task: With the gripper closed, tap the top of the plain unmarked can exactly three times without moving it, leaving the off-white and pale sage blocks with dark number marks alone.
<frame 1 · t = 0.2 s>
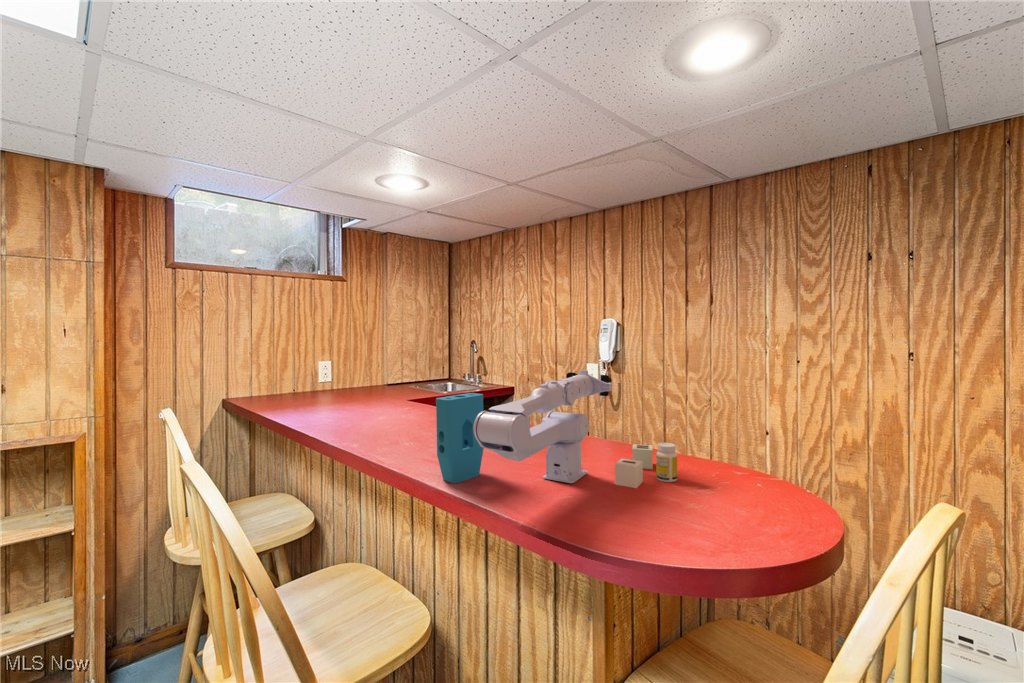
hand: (597, 380, 129), 21 cm above the table, tool horizontal, fingers open, 7 cm apart
numbered block two: (642, 466, 121), on the table
block: (461, 478, 113), on the table
supplement bottle: (666, 480, 110), on the table
numbered block one: (629, 483, 108), on the table
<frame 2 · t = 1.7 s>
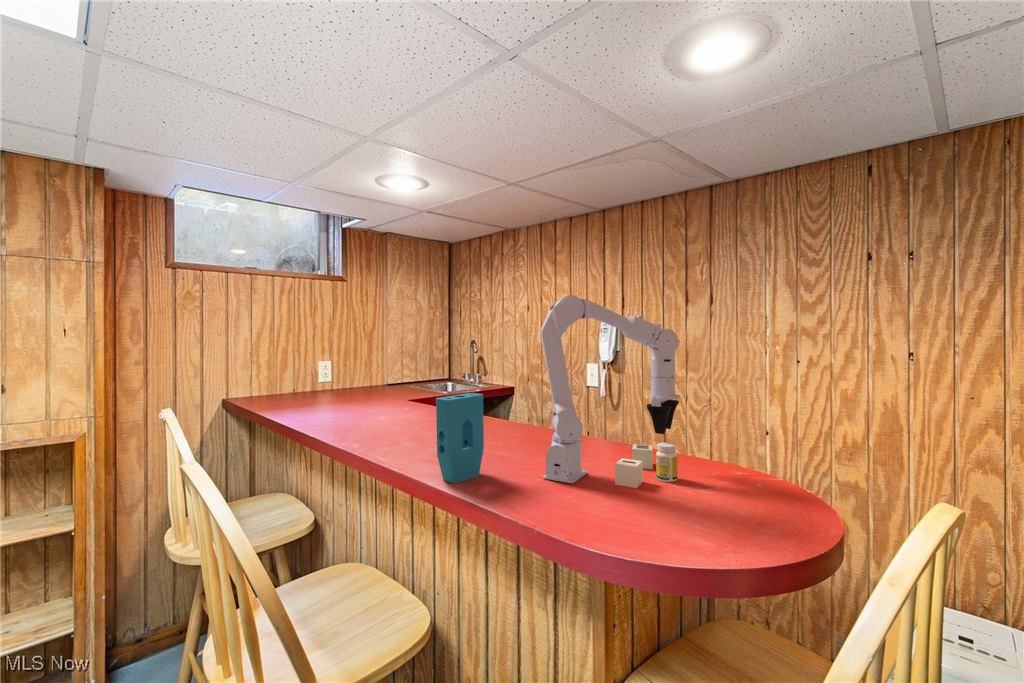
hand: (663, 431, 115), 10 cm above the table, tool pointing down, fingers open, 6 cm apart
nothing on the table moved.
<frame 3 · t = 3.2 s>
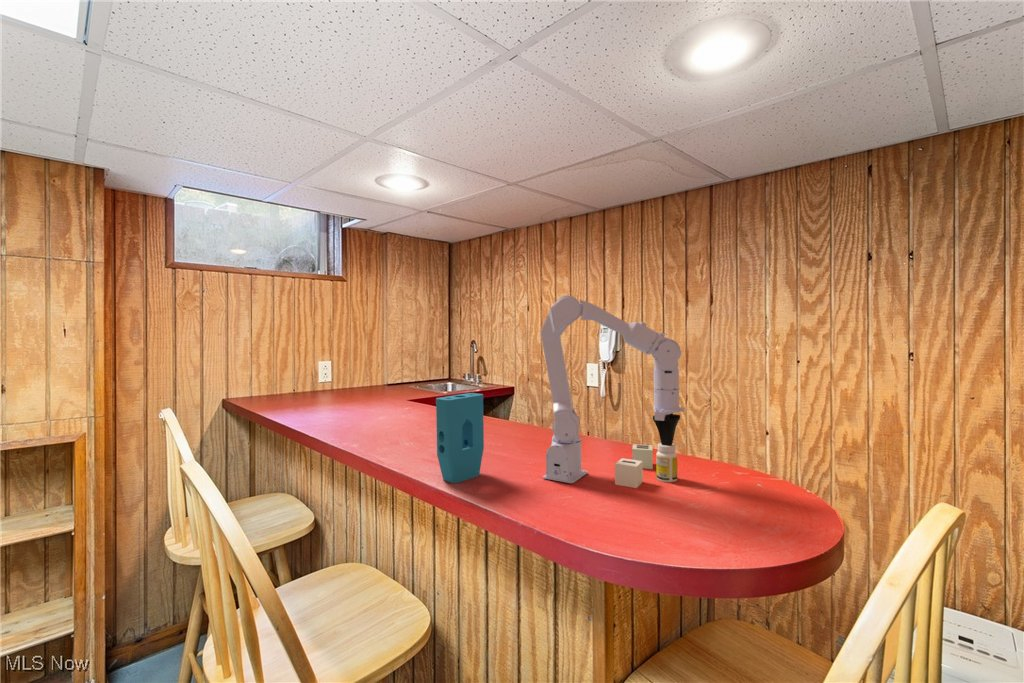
hand: (666, 445, 110), 8 cm above the table, tool pointing down, fingers closed, pressing on supplement bottle
supplement bottle: (666, 480, 110), on the table, touching gripper
everything else where it was.
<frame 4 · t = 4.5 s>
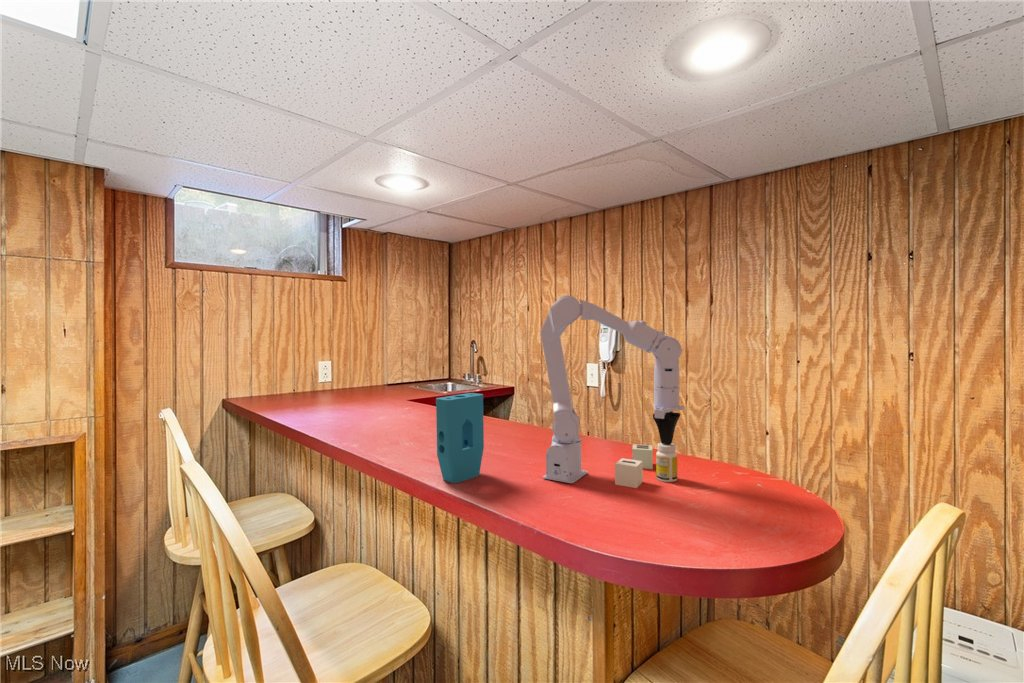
hand: (666, 443, 110), 9 cm above the table, tool pointing down, fingers closed
supplement bottle: (666, 480, 110), on the table
everything else where it was.
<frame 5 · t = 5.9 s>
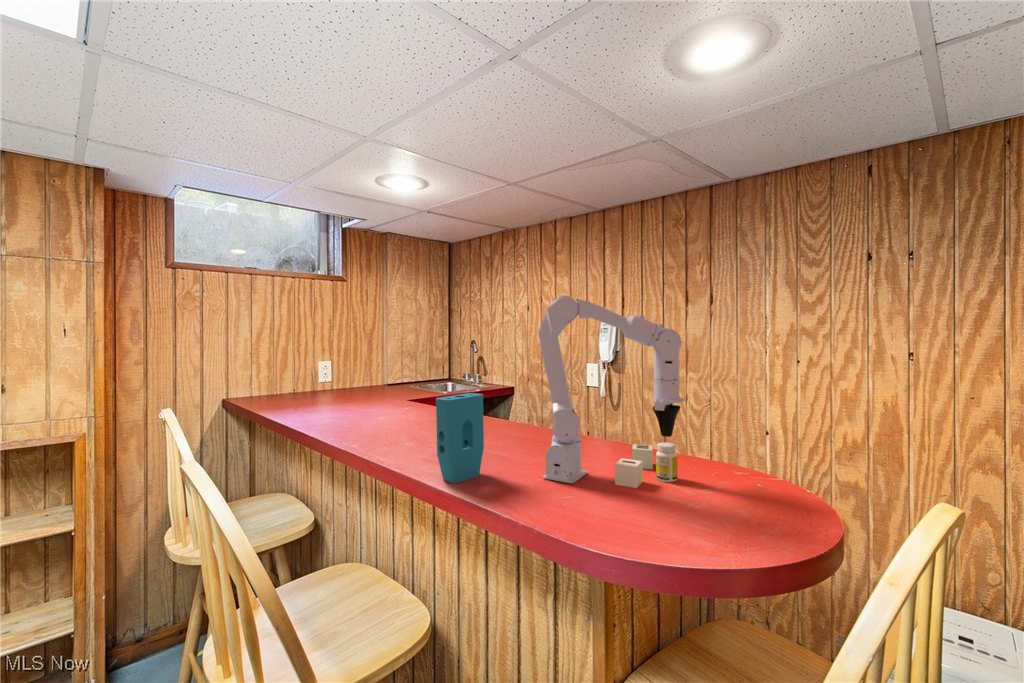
hand: (666, 436, 110), 10 cm above the table, tool pointing down, fingers closed
nothing on the table moved.
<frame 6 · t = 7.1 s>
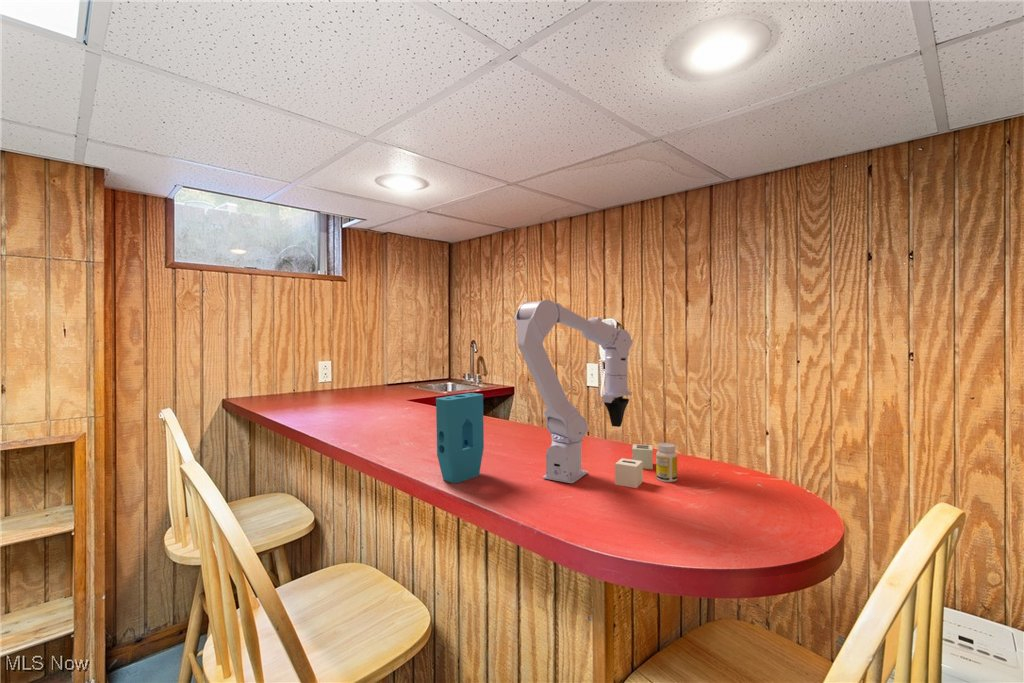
hand: (616, 426, 121), 10 cm above the table, tool pointing down, fingers closed
nothing on the table moved.
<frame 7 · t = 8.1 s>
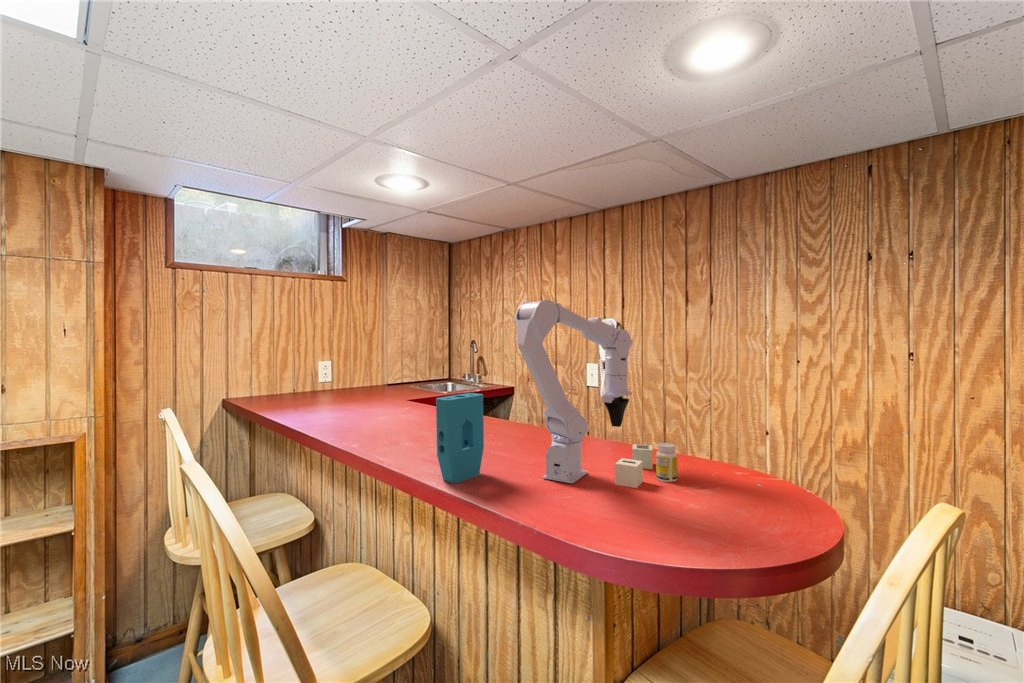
hand: (616, 426, 121), 10 cm above the table, tool pointing down, fingers closed
nothing on the table moved.
at the end: supplement bottle moved 0.2 cm from its start; supplement bottle tilted 0°; numbered block two moved 0.1 cm from its start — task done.
